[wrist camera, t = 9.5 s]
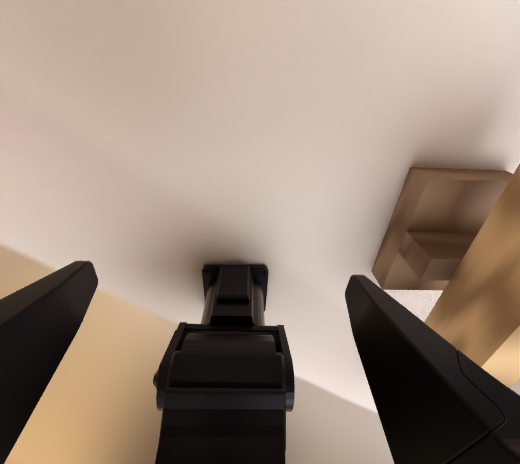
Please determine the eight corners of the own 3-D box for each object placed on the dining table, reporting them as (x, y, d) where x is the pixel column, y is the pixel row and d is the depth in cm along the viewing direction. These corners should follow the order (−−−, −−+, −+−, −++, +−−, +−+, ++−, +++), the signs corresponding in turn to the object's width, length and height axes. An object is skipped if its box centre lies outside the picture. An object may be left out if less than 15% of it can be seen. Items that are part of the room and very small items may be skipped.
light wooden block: (452, 338, 23) (497, 399, 19) (414, 338, 23) (451, 399, 19) (581, 161, 14) (718, 201, 10) (522, 159, 14) (636, 198, 10)
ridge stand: (446, 273, 27) (491, 320, 22) (371, 271, 26) (400, 320, 21) (505, 171, 21) (586, 204, 16) (410, 167, 21) (461, 200, 15)
